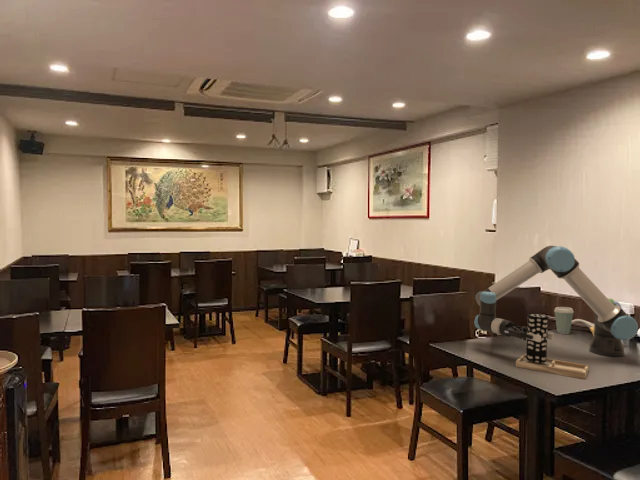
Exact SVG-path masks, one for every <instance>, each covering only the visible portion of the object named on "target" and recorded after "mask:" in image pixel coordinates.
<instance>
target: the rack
mask: <svg viewBox="0 0 640 480" xmlns="http://www.w3.org/2000/svg"><path fill="white" fill-rule="evenodd" d="M516 367H517V368H522V369H527V370H531V371H538V372H543V373H549V374H553V373H554V374H555V375H560V376H564V377H570V378H575V379H582V380H585V379H586V377H587V375H588V373H589V368H590V365H588V364H583V363H577V362H569V361H566V360H565V361H564V360H558V359H552V358H547V357H546V362H543V363H539V362H532V361H529V360H527V359H526V354H522V355H521V356H520V357H519V358H518V359H517V360H515V368H516Z"/></svg>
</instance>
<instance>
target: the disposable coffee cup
mask: <svg viewBox="0 0 640 480" xmlns="http://www.w3.org/2000/svg"><path fill="white" fill-rule="evenodd" d="M553 312H554V318H555V324H556V329H557V333H558V334H561V335H569V334H570V333H571V327H572V324H573V323H572V320H573V316H574V313H575V312H574V310H573V308H572V307H568V306H557V307H555V308H554V310H553ZM571 323H572V324H571Z"/></svg>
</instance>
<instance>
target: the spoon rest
mask: <svg viewBox="0 0 640 480" xmlns="http://www.w3.org/2000/svg"><path fill="white" fill-rule="evenodd" d="M578 322H579V323H582V324H584V325H585V326H586V327H588V329H589V330H590V331H591V329H590V327H594V323H593V322H590V321H587V320H585V319H581V318H575V319H572V323H571V325H572V324H574V323H578Z"/></svg>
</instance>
